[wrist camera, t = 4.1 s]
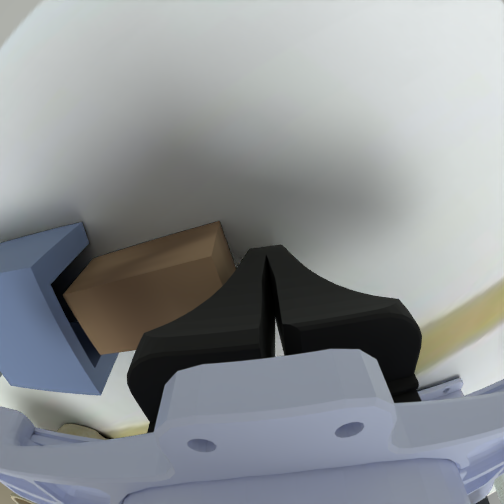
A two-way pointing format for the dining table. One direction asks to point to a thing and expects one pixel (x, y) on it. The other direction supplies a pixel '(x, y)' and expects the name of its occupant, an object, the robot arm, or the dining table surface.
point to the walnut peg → (148, 285)
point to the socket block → (45, 318)
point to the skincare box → (500, 487)
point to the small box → (483, 501)
